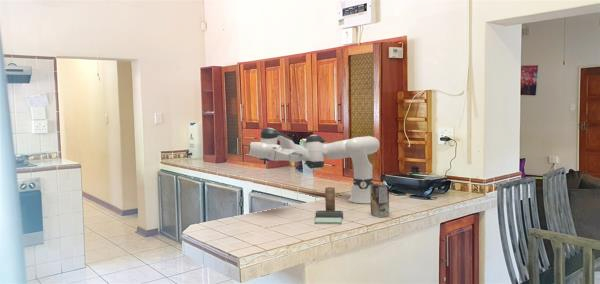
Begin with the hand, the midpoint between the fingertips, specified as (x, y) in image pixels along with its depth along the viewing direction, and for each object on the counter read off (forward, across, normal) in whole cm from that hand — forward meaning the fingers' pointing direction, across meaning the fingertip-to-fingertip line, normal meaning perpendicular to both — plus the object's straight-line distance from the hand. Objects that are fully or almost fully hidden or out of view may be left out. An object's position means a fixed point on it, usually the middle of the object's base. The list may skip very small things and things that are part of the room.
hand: (300, 156), depth 250 cm
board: (+23, +18, -27) cm, 40 cm away
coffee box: (+46, 0, -24) cm, 52 cm away
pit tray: (+22, +10, -28) cm, 36 cm away
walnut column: (+21, +2, -28) cm, 35 cm away
